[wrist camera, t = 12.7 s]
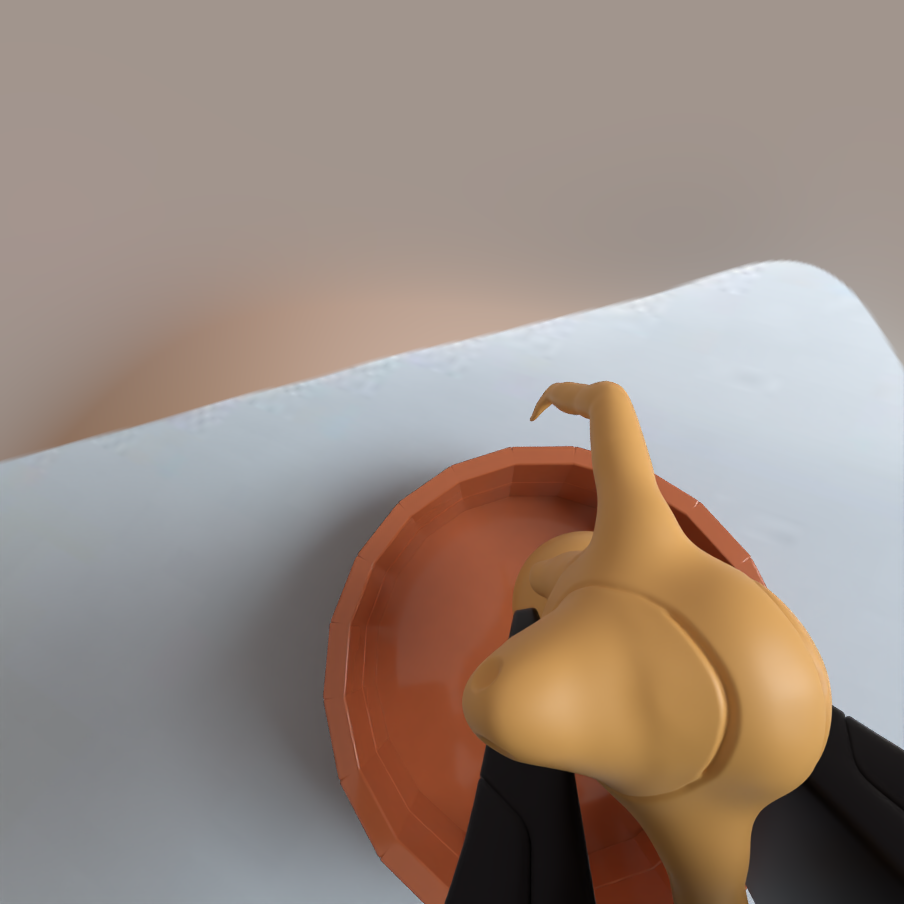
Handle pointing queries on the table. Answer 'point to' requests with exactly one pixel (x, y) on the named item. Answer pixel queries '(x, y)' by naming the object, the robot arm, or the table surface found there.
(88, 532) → the table surface
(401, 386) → the table surface
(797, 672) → the figurine
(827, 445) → the table surface
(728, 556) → the pot
